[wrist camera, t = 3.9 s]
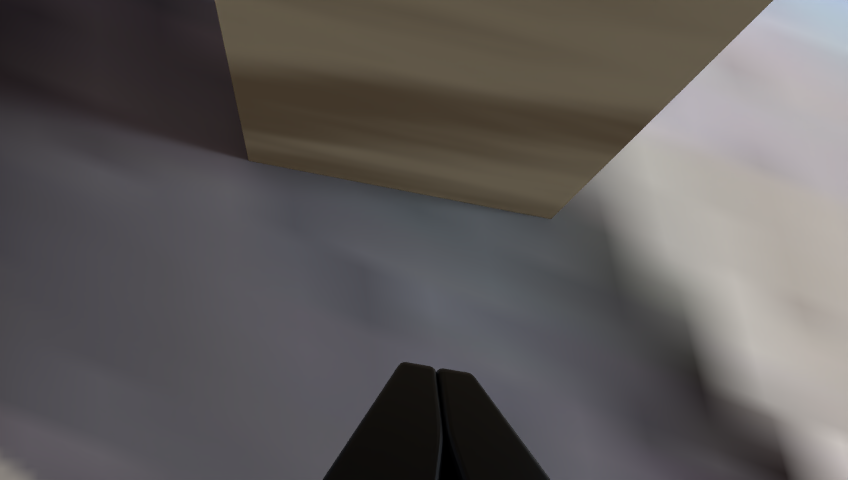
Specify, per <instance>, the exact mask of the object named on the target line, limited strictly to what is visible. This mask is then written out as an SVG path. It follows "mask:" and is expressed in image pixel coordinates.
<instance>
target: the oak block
mask: <svg viewBox="0 0 848 480" xmlns="http://www.w3.org/2000/svg"><path fill="white" fill-rule="evenodd" d="M772 1H773V0H215V4H216V9H217V13H218V18H219V23H220V28H221V32H222V37H223V42H224V46H225V51H226V56H227V61H228V65H229V70H230V75H231V79H232V84H233V89H234V94H235V98H236V103H237V108H238V113H239V117H240V122H241V127H242V131H243V136H244V141H245V146H246V150H247V155H248V160H249V161H253V162H258V163H263V164H268V165H274V166H279V167H284V168H289V169H294V170H299V171H305V172H310V173H315V174H320V175H325V176H331V177H336V178H341V179H346V180H351V181H356V182H362V183H367V184H372V185H377V186H382V187H388V188H393V189H398V190H403V191H408V192H413V193H419V194H424V195H429V196H434V197H439V198H445V199H450V200H455V201H460V202H465V203H470V204H476V205H481V206H486V207H491V208H496V209H501V210H507V211H512V212H517V213H522V214H527V215H533V216H538V217H543V218H548V219H552V218H553V217H554V216H555V215H556V214H557V213H558V212H559V211H560V210H561V209H562V208H563V207H564V206H565V205H566V204H567V203H568V202H569V201H570V200H571V199H572V198H573V197H574V196H575V195H576V194H577V193H578V192H579V191H580V190H581V189H582V188H583V187H584V186H585V185H586V184H587V183H588V182H589V181H590V180H591V179H592V178H593V177H594V176H595V175H596V174H597V173H598V172H599V171H600V170H601V169H602V168H603V167H604V166H605V165H606V164H607V163H608V162H609V161H610V160H611V159H613V158H614V157H615V156H616V155H617V154H618V153H619V152H620V151H621V150H622V149H623V148H624V147H625V146H626V145H627V144H628V143H629V142H630V141H631V140H632V139H633V138H634V137H635V136H636V135H637V134H638V133H639V132H640V131H641V130H642V129H643V128H644V127H645V126H646V125H647V124H648V123H649V122H650V121H651V120H652V119H653V118H654V117H655V116H656V115H657V114H658V113H659V112H660V111H661V110H662V109H663V108H664V107H665V106H666V105H667V104H668V103H669V102H670V101H671V100H672V99H673V98H674V97H675V96H676V95H677V94H678V93H680V92H681V91H682V90H683V89H684V88H685V87H686V86H687V85H688V84H689V83H690V82H691V81H692V80H693V79H694V78H695V77H696V76H697V75H698V74H699V73H700V72H701V71H702V70H703V69H704V68H705V67H706V66H707V65H708V64H709V63H710V62H711V61H712V60H713V59H714V58H715V57H716V56H717V55H718V54H719V53H720V52H721V51H722V50H723V49H724V48H725V47H726V46H727V45H728V44H729V43H730V42H731V41H732V40H733V39H734V38H735V37H736V36H737V35H738V34H739V33H740V32H741V31H742V30H743V29H744V28H745V27H747V26H748V25H749V24H750V23H751V22H752V21H753V20H754V19H755V18H756V17H757V16H758V15H759V14H760V13H761V12H762V11H763V10H764V9H765V8H766V7H767V6H768V5H769V4H770V3H771V2H772Z"/></svg>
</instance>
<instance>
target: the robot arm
mask: <svg viewBox="0 0 848 480" xmlns="http://www.w3.org/2000/svg"><path fill="white" fill-rule="evenodd" d="M323 480H550V478H549V477H548V476H547V474H546V473H545V472H544V470H543V469H542V468H541V466H540V465H539V463H538V462H537V461H536V459H535V458H534V457H533V455H532V454H531V453H530V451H529V450H528V449H527V447H526V446H525V445H524V443H523V442H522V441H521V439H520V438H519V436H518V435H517V434H516V432H515V431H514V430H513V428H512V427H511V426H510V424H509V423H508V422H507V420H506V419H505V418H504V416H503V415H502V413H501V412H500V411H499V409H498V408H497V407H496V405H495V404H494V403H493V401H492V400H491V399H490V397H489V396H488V395H487V393H486V392H485V390H484V389H483V388H482V386H481V385H480V384H479V382H478V381H477V380H476V378H475V377H474V376H473V375H472V374H470V373H467V372H461V371H455V370H449V369H439V370H438V371H437V372H436V371H435V369H434V368H432V367H430V366H425V365H420V364H414V363H408V362H403V363H401V364H400V365H399V366H398V367H397V369H396V370H395V372H394V373H393V375H392V376H391V378H390V379H389V381H388V382H387V384H386V385H385V387H384V388H383V390H382V391H381V393H380V394H379V396H378V397H377V399H376V400H375V402H374V403H373V405H372V406H371V408H370V409H369V411H368V412H367V414H366V415H365V417H364V418H363V420H362V421H361V423H360V424H359V426H358V427H357V429H356V430H355V432H354V433H353V435H352V436H351V438H350V439H349V441H348V442H347V444H346V445H345V447H344V448H343V450H342V451H341V453H340V454H339V456H338V457H337V459H336V460H335V462H334V463H333V465H332V466H331V468H330V469H329V471H328V472H327V474H326V475H325V477H324V478H323Z"/></svg>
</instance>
